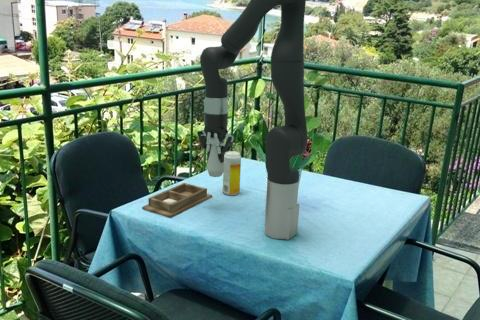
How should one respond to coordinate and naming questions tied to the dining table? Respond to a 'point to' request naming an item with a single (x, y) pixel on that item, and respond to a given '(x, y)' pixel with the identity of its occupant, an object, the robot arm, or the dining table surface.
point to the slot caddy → (176, 200)
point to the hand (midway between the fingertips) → (215, 162)
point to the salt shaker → (214, 161)
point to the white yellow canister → (231, 173)
